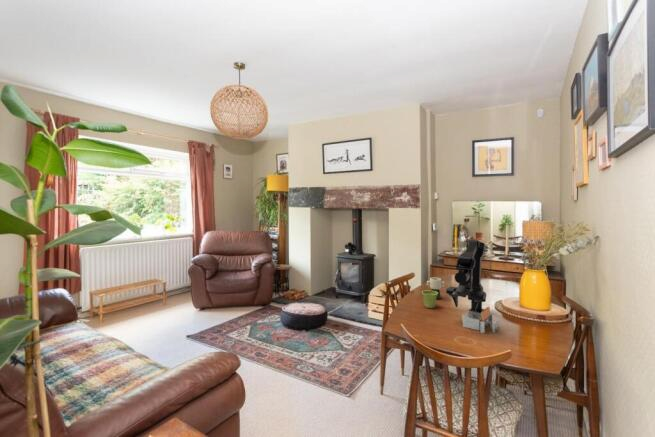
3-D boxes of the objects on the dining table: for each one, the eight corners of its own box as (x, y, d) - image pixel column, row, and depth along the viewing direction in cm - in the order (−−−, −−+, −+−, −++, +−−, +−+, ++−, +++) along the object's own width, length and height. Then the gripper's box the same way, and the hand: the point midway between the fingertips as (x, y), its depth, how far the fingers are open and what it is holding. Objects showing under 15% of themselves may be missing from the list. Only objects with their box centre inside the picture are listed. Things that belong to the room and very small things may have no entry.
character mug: (443, 297, 217) (444, 277, 217) (444, 300, 211) (444, 280, 210) (426, 295, 220) (426, 276, 220) (426, 299, 214) (426, 279, 213)
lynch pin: (464, 320, 175) (464, 312, 174) (491, 327, 166) (491, 318, 166) (461, 323, 171) (461, 315, 171) (488, 329, 163) (488, 321, 162)
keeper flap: (491, 316, 169) (489, 316, 170) (489, 306, 169) (487, 306, 170) (484, 323, 160) (482, 323, 161) (482, 312, 160) (480, 312, 161)
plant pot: (427, 309, 194) (427, 295, 193) (418, 304, 203) (418, 291, 202) (441, 308, 196) (441, 293, 196) (432, 303, 205) (432, 289, 205)
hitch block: (470, 319, 177) (470, 309, 177) (500, 326, 168) (500, 315, 167) (461, 327, 166) (461, 317, 166) (492, 335, 157) (492, 324, 157)
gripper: (442, 279, 171) (441, 309, 172) (480, 285, 158) (479, 317, 159) (450, 275, 179) (450, 303, 180) (486, 281, 167) (486, 311, 168)
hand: (465, 308), depth 172 cm, fingers open, 9 cm apart
